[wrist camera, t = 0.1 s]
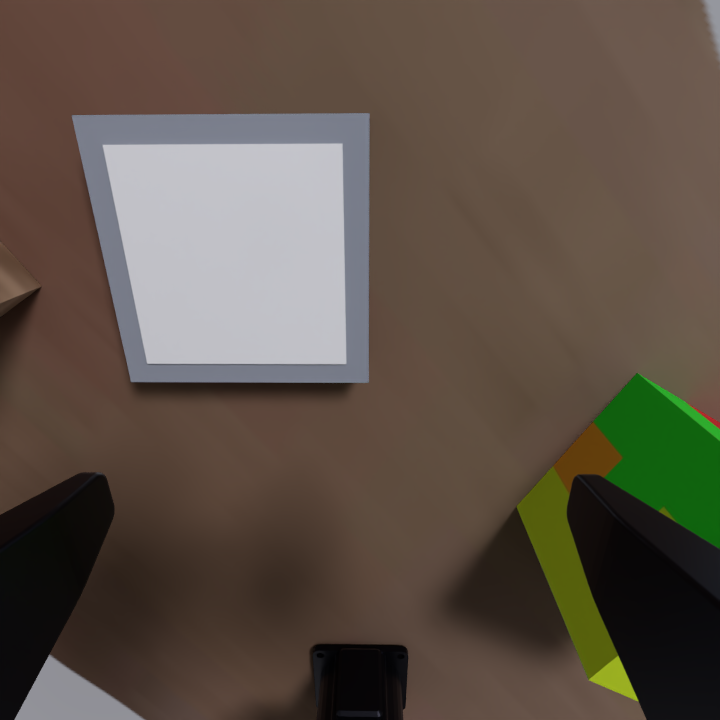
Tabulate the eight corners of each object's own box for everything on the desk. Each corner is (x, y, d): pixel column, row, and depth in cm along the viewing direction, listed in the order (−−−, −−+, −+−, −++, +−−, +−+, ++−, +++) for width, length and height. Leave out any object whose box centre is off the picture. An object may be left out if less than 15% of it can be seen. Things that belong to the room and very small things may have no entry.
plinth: (368, 360, 24) (368, 384, 22) (153, 360, 24) (129, 383, 22) (369, 117, 20) (369, 113, 17) (105, 119, 20) (69, 115, 17)
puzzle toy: (644, 570, 30) (768, 757, 20) (516, 505, 28) (588, 679, 19) (774, 455, 26) (994, 620, 17) (636, 372, 24) (799, 506, 15)
